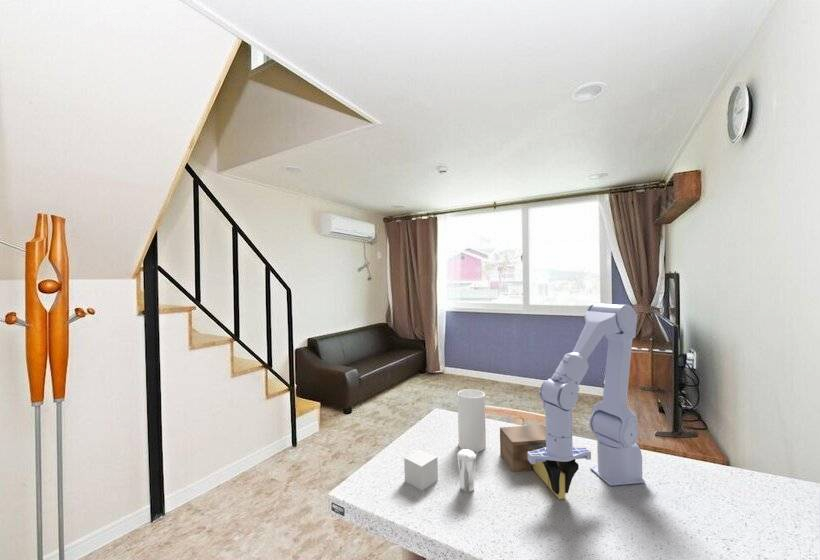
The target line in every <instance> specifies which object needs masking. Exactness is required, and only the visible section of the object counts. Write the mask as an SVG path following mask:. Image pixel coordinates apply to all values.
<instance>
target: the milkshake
mask: <svg viewBox="0 0 820 560" xmlns="http://www.w3.org/2000/svg"><path fill="white" fill-rule="evenodd" d="M478 451H479V449H478ZM479 452H480V451H479ZM477 456H478V452H473V451H471V450H469V449H460V450H459V451H458V452H457V453H456V458H457V467H458V476H459V478H458V479H459V485H460V490H461V491H463V493H471V492H473V491H475V477H476V464H477V463H476V462H477V461H476V460H477Z"/></svg>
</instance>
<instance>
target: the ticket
mask: <svg viewBox="0 0 820 560" xmlns="http://www.w3.org/2000/svg"><path fill="white" fill-rule="evenodd" d="M535 450H538V449H531V451H535ZM531 469H532V470H534V471H535V473H536V474H537V475H538V476H539V477H540V479H541V480H542V481H543V482H544V483H545V484H546V486H547V487H548V488H549V490H551V492H552V493H553V494H554V495H555V497H556V498H558V500H563V499H565V500H566V493H565V474H564V473H563V472H562V471H561V473H560V479H559V489H560V490H559V494H555V492H554V491H553V490H552V487H551V483H550V479H549V476H548V473H547V471H546V468H545V466H544V464H543V462H536V463H535V464H531Z"/></svg>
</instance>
